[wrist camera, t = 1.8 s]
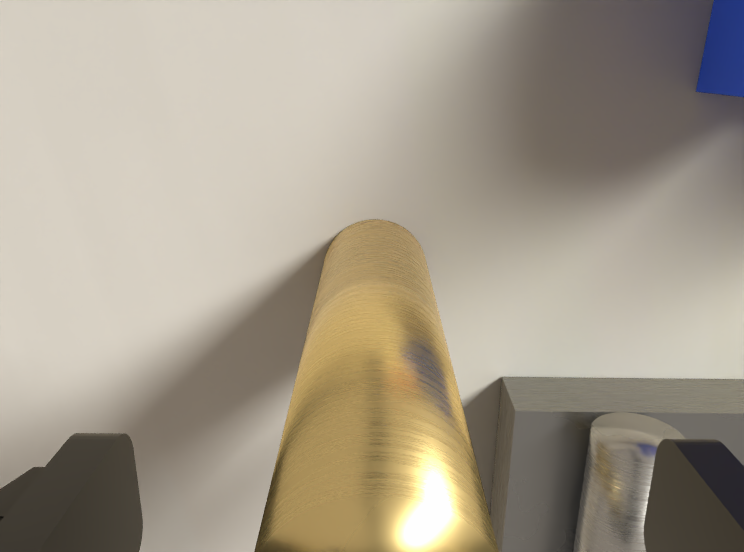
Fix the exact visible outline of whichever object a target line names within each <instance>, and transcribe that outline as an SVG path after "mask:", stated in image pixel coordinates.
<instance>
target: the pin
mask: <svg viewBox="0 0 744 552" xmlns="http://www.w3.org/2000/svg"><path fill="white" fill-rule="evenodd" d="M255 552H499V551H498V547H497V543H496V539H495V535H494V531H493V527H492V523H491V519H490V515H489V511H488V507H487V503H486V499H485V495H484V491H483V487H482V483H481V479H480V475H479V471H478V467H477V463H476V459H475V455H474V451H473V447H472V443H471V439H470V435H469V431H468V427H467V423H466V419H465V415H464V411H463V407H462V403H461V399H460V395H459V391H458V387H457V383H456V379H455V375H454V371H453V367H452V363H451V359H450V355H449V351H448V347H447V343H446V339H445V335H444V331H443V327H442V323H441V319H440V315H439V311H438V307H437V303H436V299H435V295H434V291H433V287H432V284H431V280H430V276H429V272H428V268H427V264H426V260H425V256H424V253H423V250H422V248H421V246H420V244H419V243H418V241H417V240H416V238H415V237H414V236H413V235H412V234H411V233H410V232H409V231H408V230H406V229H405V228H403V227H402V226H400V225H398V224H395V223H393V222H390V221H385V220H376V219H375V220H365V221H361V222H358V223H355V224H353V225H351V226H349V227H347V228H346V229H344V230H343V231H342V232H340V233H339V234H338V235H337V236H336V237H335V239H334V240H333V241H332V243H331V244H330V246H329V248H328V250H327V253H326V256H325V260H324V265H323V269H322V273H321V277H320V281H319V285H318V290H317V294H316V298H315V302H314V306H313V310H312V314H311V319H310V323H309V327H308V331H307V335H306V339H305V344H304V348H303V352H302V356H301V360H300V364H299V369H298V373H297V377H296V381H295V385H294V389H293V394H292V398H291V402H290V406H289V410H288V414H287V419H286V423H285V427H284V431H283V435H282V439H281V444H280V448H279V452H278V456H277V460H276V464H275V468H274V473H273V477H272V481H271V485H270V489H269V493H268V498H267V502H266V506H265V510H264V514H263V518H262V523H261V527H260V531H259V535H258V539H257V543H256V548H255Z"/></svg>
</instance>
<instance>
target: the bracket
mask: <svg viewBox="0 0 744 552" xmlns="http://www.w3.org/2000/svg"><path fill="white" fill-rule="evenodd" d="M696 92H704V93H712V94H721V95H729V96H738V97H744V0H714V2H713V7H712V12H711V17H710V22H709V27H708V32H707V37H706V42H705V48H704V53H703V58H702V63H701V68H700V73H699V78H698V83H697V88H696Z"/></svg>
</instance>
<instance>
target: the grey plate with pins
mask: <svg viewBox="0 0 744 552" xmlns="http://www.w3.org/2000/svg"><path fill="white" fill-rule="evenodd" d="M664 439H716V440H719V441H720V442H722V443H723V444H724V445H725V446H726V447H727V448H728V449H729V451H730V452H731V453H732V454H733V455H734V456H735V457H736V458H737V459H738V460H739V461H740V462H741V464H742V465H743V466H744V380H732V379H638V378H544V377H502V383H501V395H500V406H499V417H498V429H497V440H496V452H495V463H494V475H493V486H492V498H491V509H490V519H491V523H492V527H493V531H494V535H495V539H496V543H497V547H498V551H499V552H646V549H645V543H644V520H645V514H646V508H647V502H648V496H649V491H650V485H651V479H652V473H653V467H654V461H655V455H656V450H657V447H658V445H659V443H660V442H661V441H662V440H664Z"/></svg>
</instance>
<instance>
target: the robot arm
mask: <svg viewBox="0 0 744 552" xmlns="http://www.w3.org/2000/svg"><path fill="white" fill-rule="evenodd" d="M142 529H143V520H142V511H141V503H140V496H139V488H138V481H137V473H136V466H135V458H134V451H133V445H132V441H131V439H130V437H129V436H128V435H127V434H96V433H76V434H74V435H72V436H71V437H70V438H69V439H68V440H67V441H66V442H65V444H64V445H63V446H62V447H61V448H60V450H59V451H58V452H57V453H56V454H55V456H54V457H53V458H52V459H51V461H50V462H49V463H48V464H47V465H46V467H33V468H32V469H30V470H29V471H27V472H26V473H24V474H23V475H21V476H20V477H18V478H17V479H15V480H14V481H12V482H11V483H9V484H8V485H6V486H5V487H3V488H1V489H0V552H139V550H140V545H141V539H142ZM644 543H645V549H646V552H744V466H743V465H742V464H741V462H740V461H739V460H738V459H737V458H736V457H735V456H734V455H733V454H732V453H731V452H730V451H729V449H728V448H727V447H726V446H725V445H724V444H723V443H722V442H720V441H719V440H716V439H664V440H662V441H661V442H660V443H659V445H658V447H657V450H656V455H655V461H654V467H653V473H652V479H651V485H650V491H649V496H648V502H647V508H646V514H645V520H644Z"/></svg>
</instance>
